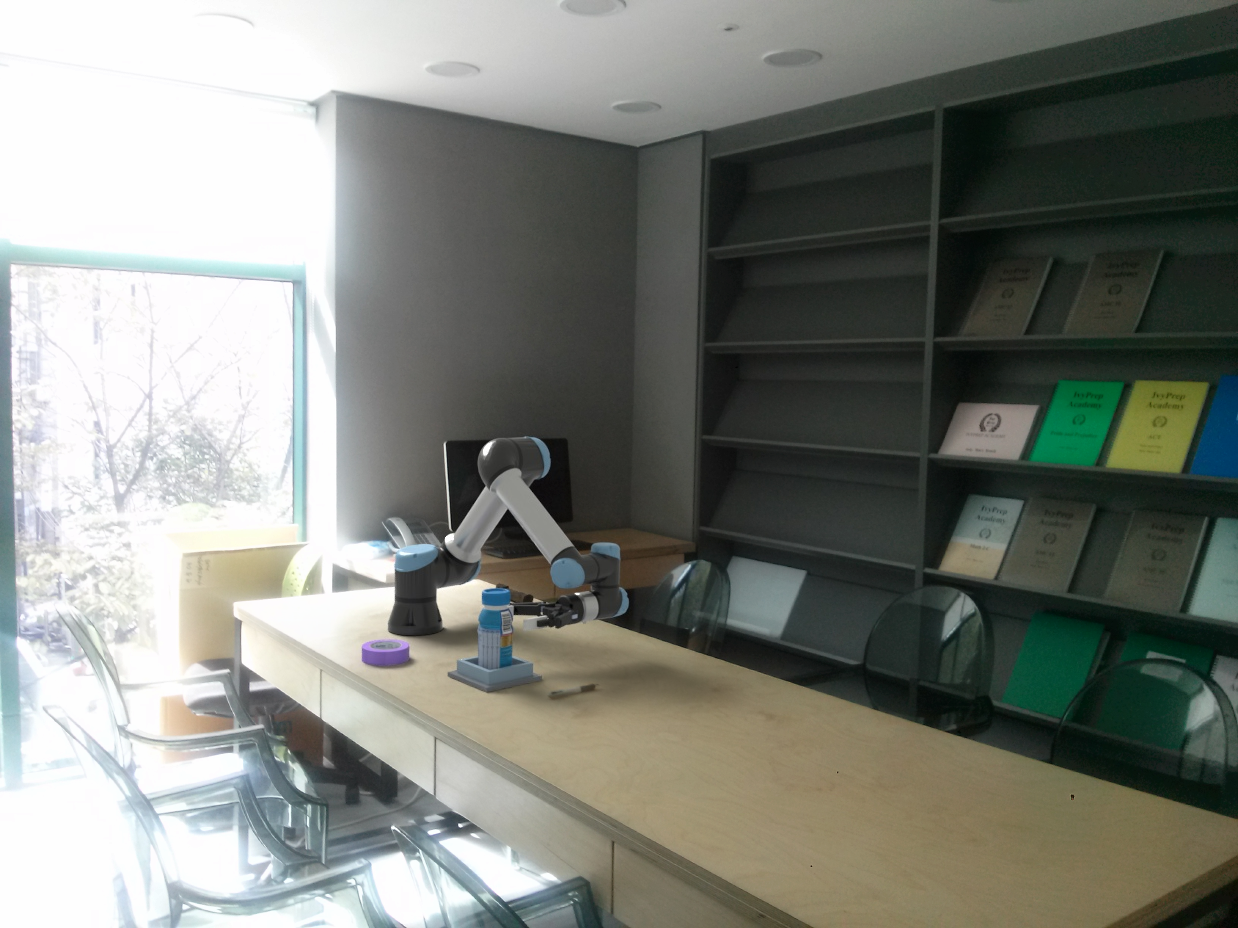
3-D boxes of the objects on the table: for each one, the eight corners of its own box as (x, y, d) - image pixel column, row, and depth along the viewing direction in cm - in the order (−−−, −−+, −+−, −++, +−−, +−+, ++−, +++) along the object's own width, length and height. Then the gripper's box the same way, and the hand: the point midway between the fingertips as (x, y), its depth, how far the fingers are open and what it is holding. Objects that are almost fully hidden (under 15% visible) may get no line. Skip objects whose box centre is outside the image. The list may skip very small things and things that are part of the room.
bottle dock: (447, 675, 242) (447, 659, 241) (502, 664, 253) (502, 649, 252) (486, 692, 230) (486, 674, 230) (542, 679, 241) (542, 663, 241)
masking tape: (416, 662, 253) (416, 647, 253) (370, 668, 247) (370, 653, 247) (399, 651, 263) (399, 637, 263) (355, 657, 257) (355, 642, 257)
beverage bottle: (478, 679, 236) (479, 594, 235) (475, 669, 245) (477, 587, 243) (514, 677, 238) (515, 593, 236) (511, 668, 246) (512, 586, 245)
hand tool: (534, 606, 322) (534, 591, 321) (523, 607, 319) (523, 592, 319) (503, 595, 337) (503, 581, 336) (492, 596, 334) (492, 582, 334)
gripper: (608, 632, 247) (538, 645, 233) (545, 613, 266) (477, 625, 252) (608, 602, 247) (539, 613, 233) (545, 585, 265) (478, 595, 251)
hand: (507, 619), depth 242 cm, fingers open, 13 cm apart
